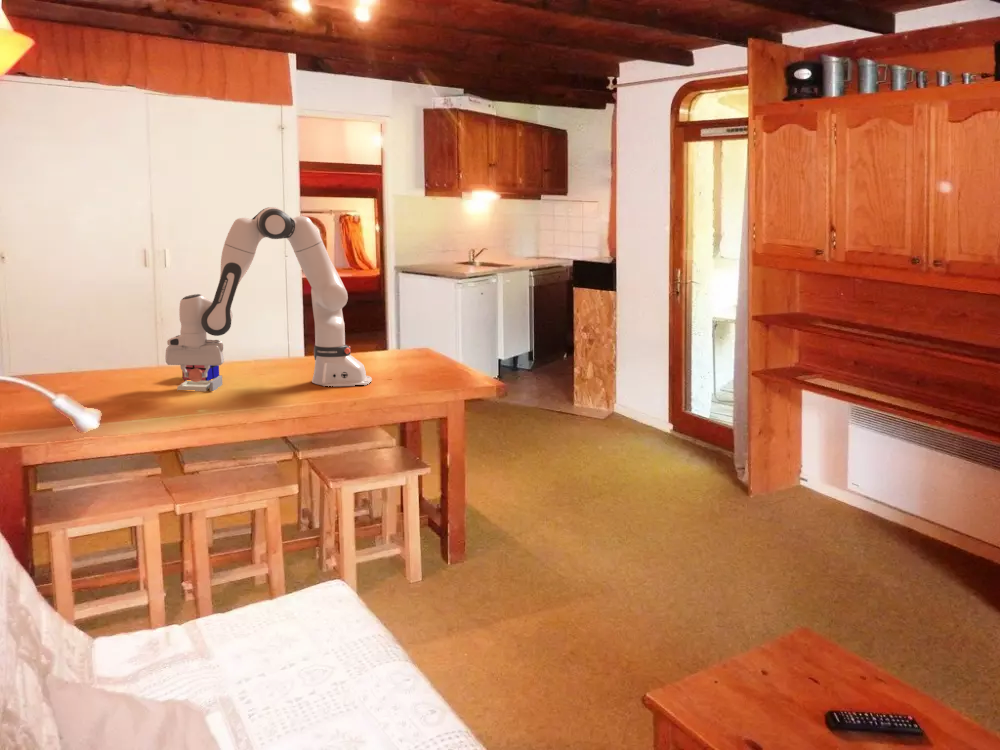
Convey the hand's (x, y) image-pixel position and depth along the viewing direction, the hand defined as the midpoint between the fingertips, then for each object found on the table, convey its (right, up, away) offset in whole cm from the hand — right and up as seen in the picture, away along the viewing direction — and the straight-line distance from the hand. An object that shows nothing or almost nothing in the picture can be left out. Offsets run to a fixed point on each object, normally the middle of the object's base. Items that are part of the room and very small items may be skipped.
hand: (195, 377), depth 324 cm
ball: (0, +1, 0) cm, 1 cm away
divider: (+7, -4, +1) cm, 8 cm away
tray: (0, -4, +1) cm, 4 cm away
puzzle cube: (-4, -1, +17) cm, 17 cm away
